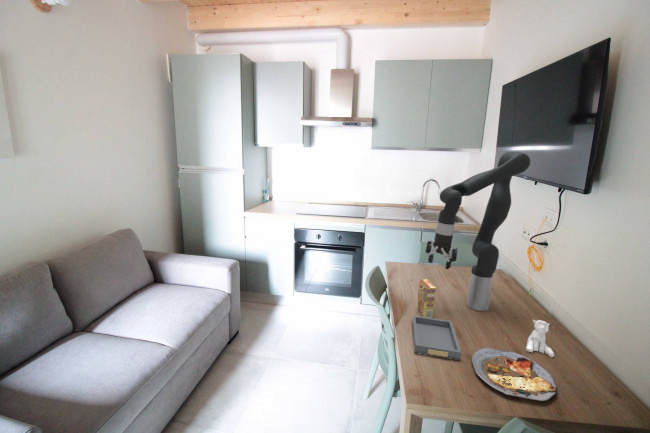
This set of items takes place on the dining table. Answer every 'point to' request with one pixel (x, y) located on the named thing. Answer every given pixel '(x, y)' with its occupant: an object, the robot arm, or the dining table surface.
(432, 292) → the candy box
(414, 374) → the dining table surface
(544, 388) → the food plate
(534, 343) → the sitting furry creature
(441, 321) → the labelled tray
